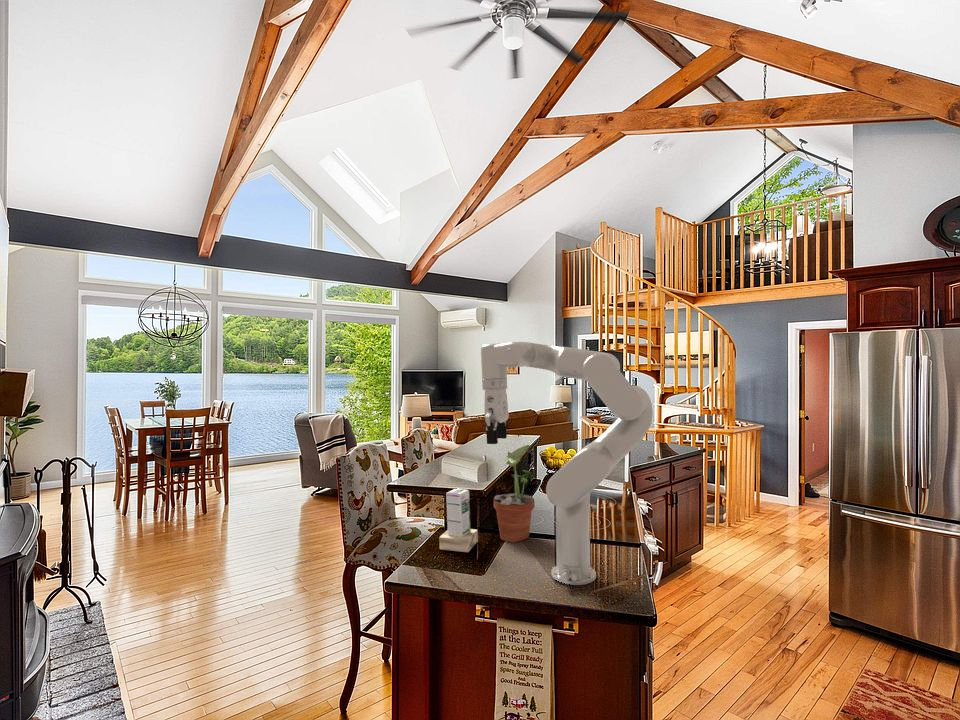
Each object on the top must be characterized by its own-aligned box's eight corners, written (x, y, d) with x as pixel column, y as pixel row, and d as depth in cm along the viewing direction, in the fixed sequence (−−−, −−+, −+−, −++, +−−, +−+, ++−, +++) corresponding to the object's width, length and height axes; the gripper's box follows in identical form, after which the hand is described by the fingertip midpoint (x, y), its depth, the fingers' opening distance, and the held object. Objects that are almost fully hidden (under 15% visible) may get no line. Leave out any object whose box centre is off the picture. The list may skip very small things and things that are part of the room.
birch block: (468, 552, 168) (467, 540, 168) (439, 549, 172) (439, 537, 171) (477, 541, 178) (477, 529, 178) (450, 538, 181) (450, 527, 181)
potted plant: (545, 534, 182) (543, 435, 182) (518, 547, 171) (516, 441, 171) (511, 525, 193) (509, 431, 192) (483, 536, 182) (481, 436, 181)
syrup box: (462, 537, 170) (461, 493, 170) (446, 535, 173) (445, 491, 173) (471, 532, 175) (469, 489, 175) (456, 529, 178) (455, 487, 178)
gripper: (498, 386, 148) (500, 446, 148) (514, 382, 165) (516, 436, 165) (473, 386, 151) (476, 446, 151) (491, 382, 167) (493, 436, 167)
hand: (497, 440), depth 158 cm, fingers open, 9 cm apart
